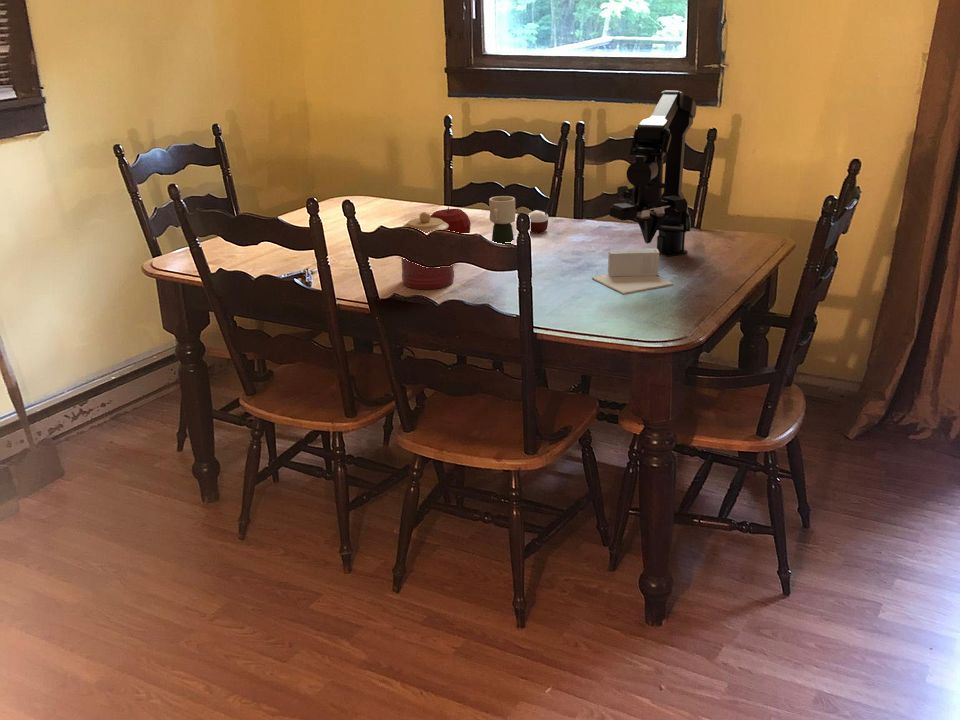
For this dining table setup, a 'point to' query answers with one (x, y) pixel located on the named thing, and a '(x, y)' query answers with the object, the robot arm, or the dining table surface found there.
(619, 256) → the skincare box
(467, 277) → the dining table surface
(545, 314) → the dining table surface
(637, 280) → the mat
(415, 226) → the canister
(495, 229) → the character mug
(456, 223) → the apple
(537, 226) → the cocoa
